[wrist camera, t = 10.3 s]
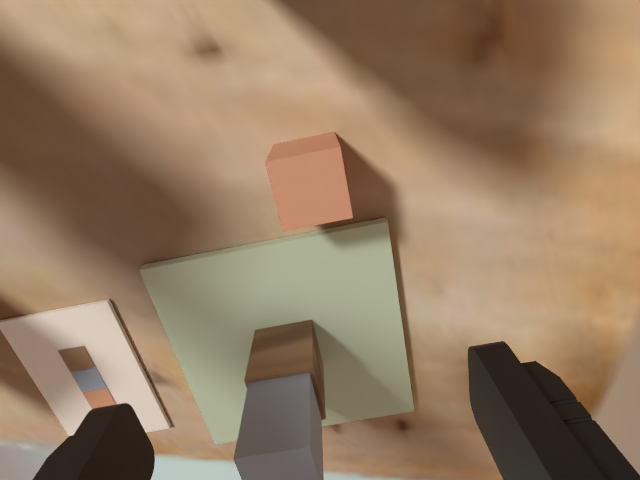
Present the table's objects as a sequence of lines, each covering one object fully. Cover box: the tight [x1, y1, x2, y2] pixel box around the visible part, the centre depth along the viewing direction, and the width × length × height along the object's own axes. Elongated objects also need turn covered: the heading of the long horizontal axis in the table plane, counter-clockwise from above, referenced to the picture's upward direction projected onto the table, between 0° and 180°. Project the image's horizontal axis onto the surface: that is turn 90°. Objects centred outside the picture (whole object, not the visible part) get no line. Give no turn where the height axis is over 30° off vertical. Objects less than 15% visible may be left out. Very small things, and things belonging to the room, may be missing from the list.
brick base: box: [244, 320, 326, 420], centre depth 32 cm, size 5×5×6 cm
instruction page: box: [0, 299, 171, 436], centre depth 36 cm, size 15×10×1 cm, turn 11°
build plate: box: [139, 217, 414, 444], centre depth 35 cm, size 20×20×1 cm
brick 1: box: [265, 132, 353, 232], centre depth 26 cm, size 4×4×6 cm
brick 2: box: [234, 373, 323, 480], centre depth 26 cm, size 4×4×6 cm
